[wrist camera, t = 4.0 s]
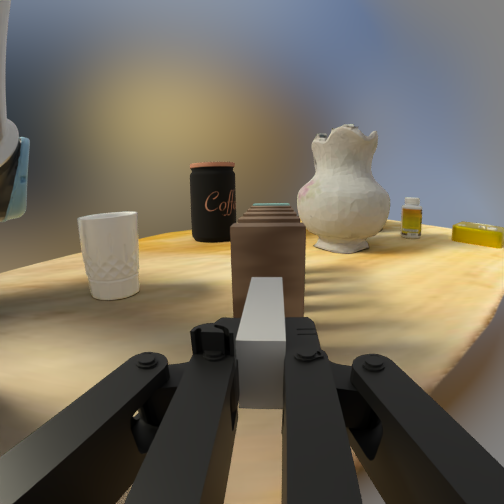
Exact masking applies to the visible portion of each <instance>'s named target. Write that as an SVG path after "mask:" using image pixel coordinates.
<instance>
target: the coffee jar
mask: <svg viewBox="0 0 504 504" xmlns="http://www.w3.org/2000/svg"><path fill="white" fill-rule="evenodd" d="M234 165H235V163H233V162H204V163H194V164H190V169H191V170H192V173H191V174H190V193H191V219H192V236H193V238H194V239H195V240H196V241H199V242H223V241H229V240H231V239H230V227H231V226H232V225H233V224H234V223H236V198H235V173H234V172H233V168H234Z"/></svg>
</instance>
